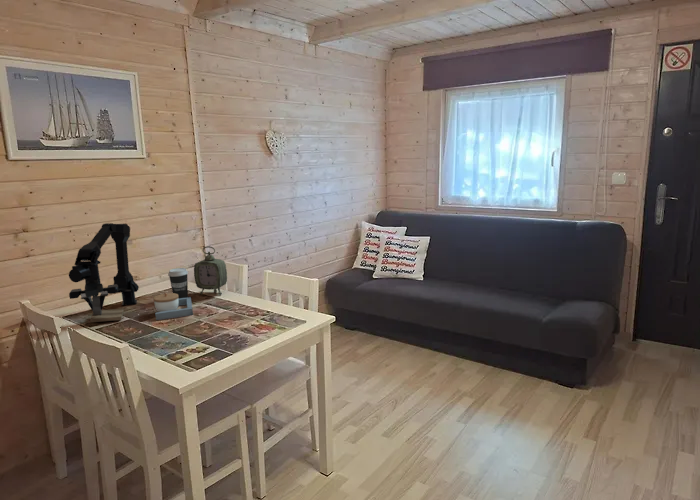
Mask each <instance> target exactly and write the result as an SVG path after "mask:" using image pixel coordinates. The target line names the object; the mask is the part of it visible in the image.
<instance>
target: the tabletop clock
mask: <svg viewBox="0 0 700 500" xmlns="http://www.w3.org/2000/svg"><path fill="white" fill-rule="evenodd" d="M208 248H209V249H212V250H213V252H210V251H207V252H205V251H204V250H205V249H208ZM202 252H203V254H205V256H204V259H203V260H202V259H201V261H200V260H199V261H198V262H196V263H194V267H193V277H194V282H195V285H196V287H197V288H198V289H201V291H199V294H200V295H203V293H204V290H213V292H214V293H217V290H218V296H222V292H221V290H220V288H221V287H223V286H225V285H227V282H228V272H227V271H228V270H227V265H226V261H224V260H223V259H220V258H219V259H218V258H215V256H214V255H213V254H215V253H216V249H215V248H214V247H213V246H209V245H207V246H204V247H203V248H202Z"/></svg>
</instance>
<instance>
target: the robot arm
mask: <svg viewBox="0 0 700 500" xmlns="http://www.w3.org/2000/svg"><path fill="white" fill-rule="evenodd" d="M130 236H131V227H130V226H129V225H128V224H127V223H112V222H111V223H110V222H108V223H107V222H105V223H103V224H101V228H100V229H99V230H98V231H97V233H96V234H95V235H94V237H93V238H92V239H91V240H90V241H89V242H88V243H86V244H84V245H82V247H80V248H79V249H78V251H77V255H76V259H75V261H74V265H73V266H71V269H70V271H69V272H68V278H69V279H70V281H71V282H73V283H78V282H81V281H84V282H85V284H84V290H83V289H82V288H73V289H71V290H70V292H69V293H68V296H69V300H73V299H78V298H80V297H81V298H80V299H81V300H84V301H85V302H86V303H87V304H88V306H89V308H90V309H91V311H92V312H93V305H92V297H93V296H100V305H101V310H103V307H104V302H105V300H106V299H105V298H106V297H108V295H112V294H118V293H121V297H122V303H121V306H122V305H125V306H132V305H136V304H137V302H138V299H136V294H135V293H137V292H138V291H139V285H138V284H137V283H136V282H135V281H134V280H135V279H134V277H133V275H132V274H131V272H130V268H129V253H128V241H129V238H130ZM110 237H111V239H112V240H113V241H114V243H115V256H116V267H117V269H116V270H117V273H116V274H115V276H113V277H112V278H113V284H108V285H107V287H104V285H103V283H102V282H101V276H100V271H99V264H101V263H102V262H101V261H100V260H99V258H100V256H101V254H102V252H101V251H102V250H101V249H102V247H103V246H104V245H105V243H106V242H107V241H108V239H109V238H110ZM99 294H100V295H99Z"/></svg>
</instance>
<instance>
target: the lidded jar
mask: <svg viewBox="0 0 700 500" xmlns="http://www.w3.org/2000/svg"><path fill="white" fill-rule="evenodd" d="M178 297H179V296H178V294H176V293H173V292H170V293H169V292H164V293H162V294H158V295H156V296H154V297H153V303H154V308H155V309H156V312H163V311H170V310H177V309H179V306H178V305H179V298H178Z"/></svg>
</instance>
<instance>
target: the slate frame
mask: <svg viewBox="0 0 700 500" xmlns="http://www.w3.org/2000/svg"><path fill="white" fill-rule="evenodd" d="M181 306H186V307H185V308H177V309H176V310H170V311H163V312H158V311H156V312H155V313H154V314H155V321H161V320H168V319H174V318H175V319H176V318H181V317H188V316H189V317H190V316H194V312H193V311H194V310H193V304H192V297H191V296H188V297H187V298H180V299H179V305H178V307H181Z"/></svg>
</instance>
